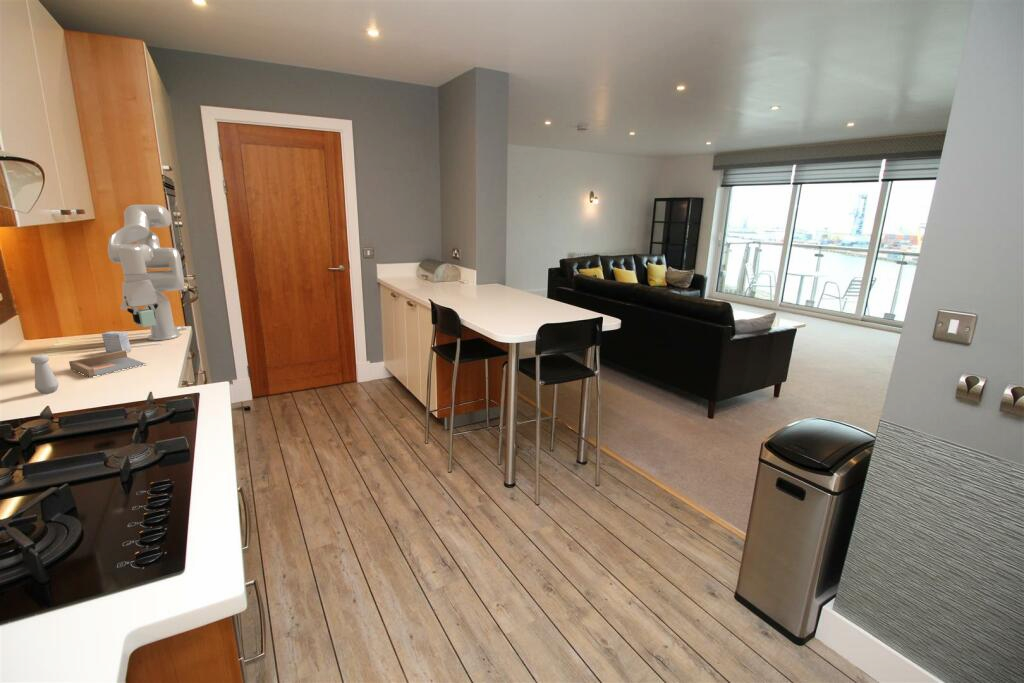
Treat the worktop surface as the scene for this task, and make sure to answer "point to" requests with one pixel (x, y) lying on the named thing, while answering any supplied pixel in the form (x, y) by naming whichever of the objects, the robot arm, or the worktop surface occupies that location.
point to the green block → (146, 317)
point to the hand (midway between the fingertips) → (145, 321)
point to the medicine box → (116, 341)
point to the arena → (104, 363)
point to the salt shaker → (44, 375)
